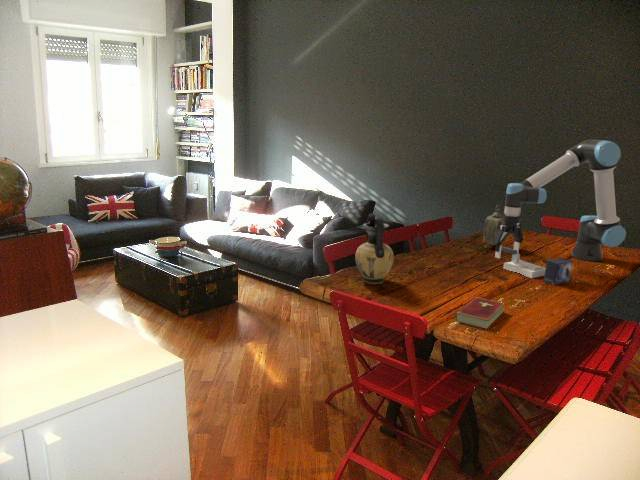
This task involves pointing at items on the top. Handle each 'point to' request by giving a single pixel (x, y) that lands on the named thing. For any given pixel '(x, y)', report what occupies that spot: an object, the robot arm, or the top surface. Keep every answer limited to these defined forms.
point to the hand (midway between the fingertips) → (506, 256)
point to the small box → (558, 271)
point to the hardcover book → (480, 312)
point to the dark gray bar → (517, 257)
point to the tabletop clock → (492, 226)
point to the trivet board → (524, 270)
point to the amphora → (374, 252)
